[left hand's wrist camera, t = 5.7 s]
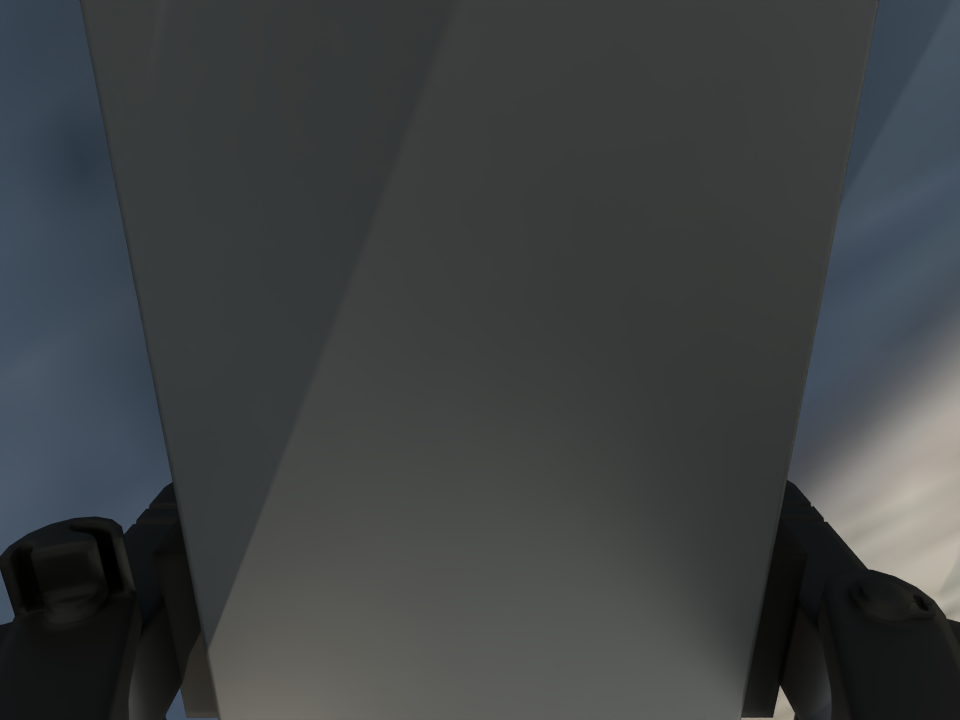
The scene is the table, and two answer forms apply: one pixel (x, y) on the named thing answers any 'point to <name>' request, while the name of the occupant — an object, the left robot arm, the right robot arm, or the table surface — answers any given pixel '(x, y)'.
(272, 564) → the bar
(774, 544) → the left robot arm
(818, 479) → the table surface
